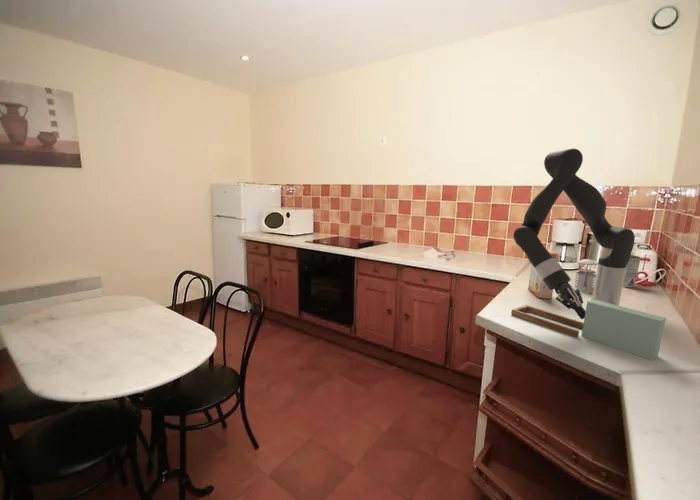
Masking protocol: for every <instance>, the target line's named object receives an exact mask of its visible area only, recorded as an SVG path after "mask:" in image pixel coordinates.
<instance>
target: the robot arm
mask: <svg viewBox="0 0 700 500" xmlns="http://www.w3.org/2000/svg"><path fill="white" fill-rule="evenodd" d="M583 157H584V156H583V153H582V152H581V150H580V149H577V148H566V149H560V150H553V151H551V152H549V153H547V155H546V156H545V157H544V161H543V165H544V169H545V171H546V173H547V174H548V175H549V176H550V177H551V180H550V182H549V183H548V184H547V185H546V186H545V187H544V188H543V189H542V190H540V192H539V193H538V194H536V195H535V197H534V198H533V200H532V201H531V203H529V207H528V208H527V210H526V212H525V214H524V217H523V222H522V224H521V226H519V227H516V229H515V230H514V232H513V240H514V242H515V244H516V245H517V246H518V247H519V248H521V250H522V251H523V253H524V254H525V255H526V257H527V259H528V260H529V261H528V262H530V263H531V264H532V265H533V266H534V268H535V269H536V271H537V273H538V274H539V276H540V277H541V278H542V280H543V281H544V283H545V284H546V285H547V287H548V288H549V289H550V290H553V291H555V293H556V295H557V296H556V297H555V300H556V301H557V302H559V303H560V304H562V305H563V306H564V307H566V308H567V309H568V310H570V309H572V310H573V311H574V312H575V314H577V316H578V317H579V318H580V320H584V318H585V312H586V309H585V308H584V307H583V304H584V300H583V297H582V294H581V292H580V291H579V290H578V289H577V290H574V289H573V287H574V286H573V285H571V284H570V283H569V282H570V281H571V280H572V279H571V278H570V276H569V275H568V273H567V272H566V270H565V269H564V268H563V267H562V265H560V263H559V262H558V261H556V260H555V259H554V258H553V257H552V255H551V254H550V253H549V252H548V250H549V249H548V248H546V247H545V246H544V245H543V242H542V241H541V240H540V238H539V233H540V231H541V229H542V226H543V224H544V222H545V221H546V219H547V217H548V215H549V213H550V211H552V210H551V209H552V207H553V206H554V205H555V203H556V202H557V199H558V198H559V197H560V195H561V194H562V192H564V193H565V194H566V195H567V198H569V200H570V202H571V203H572V204H573V207H575V209H576V210H577V212H578V213H579V214H580V215H581V217H582V218H583V219H584V221H585V223H586V224H587V225H588V227H589V229H590V231H591V233H592V235H593V236H594V239H595V240H596V242H597V244H598V245H599V246H600V247H602V248H604V249H608V250H609V249H610V250H611V251H610V254H608V255H607V256H600V257H599V258H598V260H597V263H598V265H597V267H596V273H595V275H596V278H594V279H595V281H594V282H595V283H594V286H593V287H594V290H593V293H592V297H591V300H593V299H594V300H598V301H602V302H606V303H610V304H614V305H618V306H620V303H621V302H620V301H621V296H622V293H623V292H622V291H623V288H624V287H623V281H624V276H625V271H626V266H627V263H628V262H629V260H630V256H631V255H632V252H633V248H634V245H635V233H634V231H633V230H632V229H630V228H625V227H618V226H617V227H616V226H613V225H612V224H610V223H609V222H608V220H607V218H606V216H605V215H606V211H607V203H606V200H605V198H604V196H603V195H602V194H601V192H600V191H599V190H598V189H597V188H596V187H595V186H593V185H592V184H591V183H589V182H588V181H586V180H584V179H582V178H581V177H579V176H578V175H577V172H579V170H580V168H581V166H582V164H583V159H584V158H583ZM547 249H548V250H547Z"/></svg>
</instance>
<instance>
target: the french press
mask: <svg viewBox="0 0 700 500" xmlns="http://www.w3.org/2000/svg"><path fill="white" fill-rule="evenodd" d="M588 243H590V247H589V252H588V253H589V254H588V257H590V255H591V248H592V243H595V240H594V239H589V241H588ZM577 263H578V264H581V265H586V267H585V268H578V269H577V272H576V274H575V281H574V285H573V286H572V287H573V289H574V290H577V289H578V290H579V291H580V293H584V294H585V293H586V294H593V290H594V284H595V278H596V273H597V271H595V270H592V268H591V267H589V266H598V261H595V260H592V259H590V258H587V259H586V258H585V259H580V260H578V261H577ZM588 267H589V269H588Z"/></svg>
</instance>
